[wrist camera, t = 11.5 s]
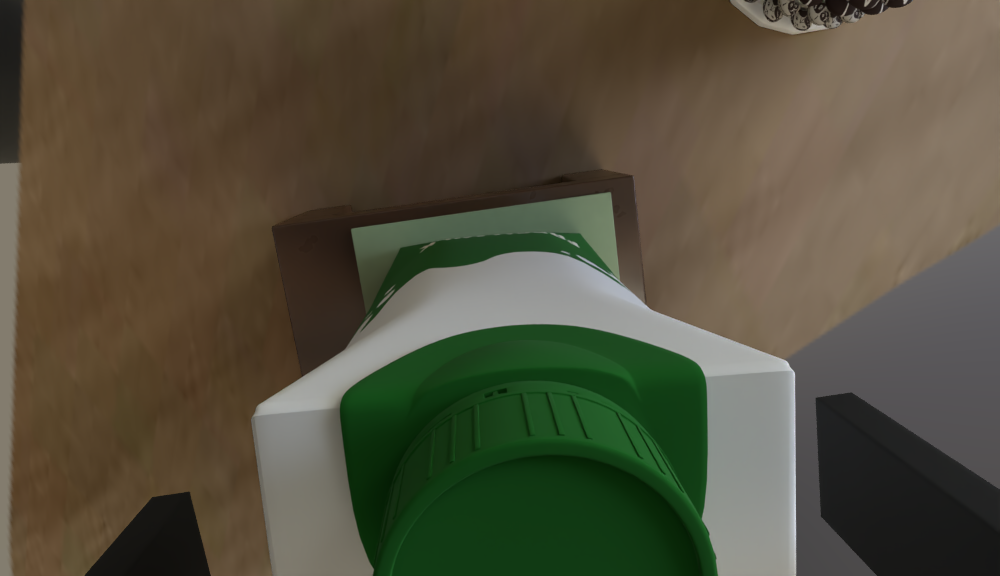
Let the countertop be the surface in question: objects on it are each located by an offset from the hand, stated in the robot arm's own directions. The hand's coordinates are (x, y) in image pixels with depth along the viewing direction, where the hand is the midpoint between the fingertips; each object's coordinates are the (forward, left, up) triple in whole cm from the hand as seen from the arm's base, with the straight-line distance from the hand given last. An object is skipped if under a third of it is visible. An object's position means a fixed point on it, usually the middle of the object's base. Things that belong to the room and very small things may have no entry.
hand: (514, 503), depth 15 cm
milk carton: (0, 0, -14) cm, 14 cm away
